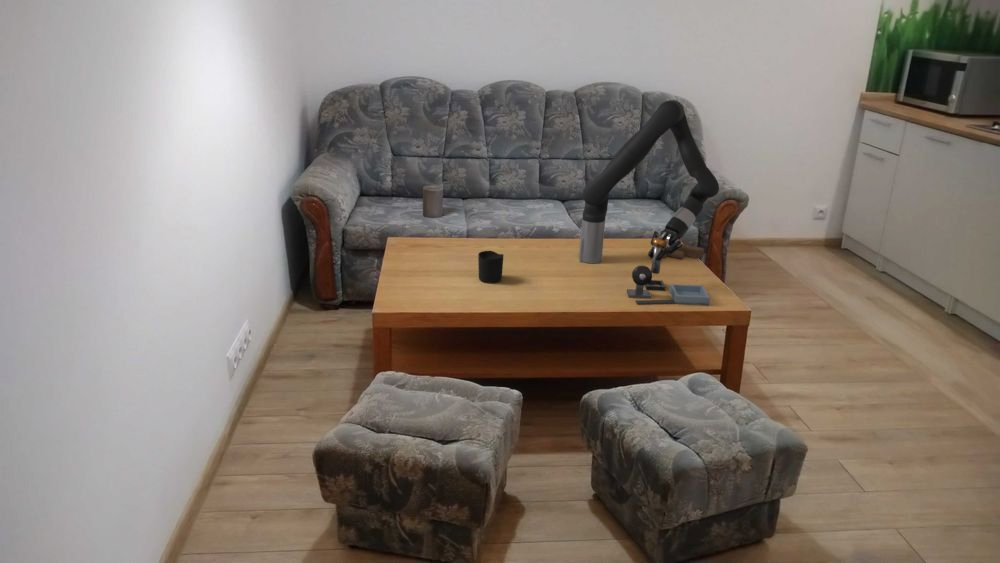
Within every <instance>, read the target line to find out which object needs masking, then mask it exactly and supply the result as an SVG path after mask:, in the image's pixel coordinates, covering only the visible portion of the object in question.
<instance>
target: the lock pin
mask: <svg viewBox="0 0 1000 563" xmlns="http://www.w3.org/2000/svg"><path fill="white" fill-rule="evenodd" d="M653 245H654V251H653V259H651V269H650V270H651V273H652V274H654V275H658V274H660V271H661V263H662V259H661V260H660V261H657V260H656V259H655V257H656V256H657V254H658V253H659V252H660V250H662V248H663V246H665V239H664V238H659V237H656V238H653Z"/></svg>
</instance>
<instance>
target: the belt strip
mask: <svg viewBox="0 0 1000 563" xmlns="http://www.w3.org/2000/svg"><path fill="white" fill-rule="evenodd" d="M635 304H637V305H639V306H640V305H643V306H644V305H676V304H675V301H674V300H673V299H648V300H647V299H645V300H642V299H641V300H639V299H638V300H637V299H635Z"/></svg>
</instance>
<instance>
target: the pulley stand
mask: <svg viewBox="0 0 1000 563" xmlns="http://www.w3.org/2000/svg"><path fill="white" fill-rule="evenodd" d="M631 279H632V280H633V282H634V284H635V289H634V288H627V290H626V293H627V297H628V298H631V299H632V298H633V299H648V300H652V295H651V292H650V290H646V289H644V288H645V285H647V284H648V283H650V281H651V280H653V273H651V269H650V267H649V266H647V265H637V266H636V267H634V269H633V270H632V272H631Z"/></svg>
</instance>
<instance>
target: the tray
mask: <svg viewBox="0 0 1000 563" xmlns="http://www.w3.org/2000/svg"><path fill="white" fill-rule="evenodd" d="M668 292H669V294H670V295H671V298H672V300H674V301H675V304H674V305H688V306H689V305H693V306H710V300H711V299H710V298H711V297H710V295H709V293H708V291H707V290H706V289H705V287H704V285H699V284H696V285H695V284H681V283H680V284H677V283H670V284H669V291H668Z"/></svg>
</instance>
